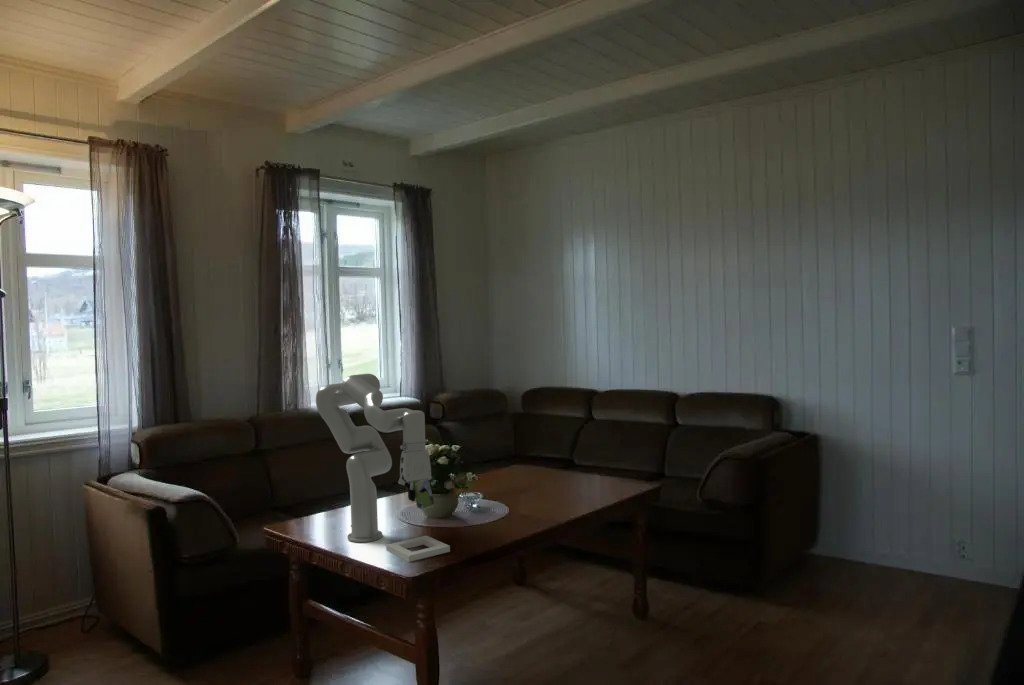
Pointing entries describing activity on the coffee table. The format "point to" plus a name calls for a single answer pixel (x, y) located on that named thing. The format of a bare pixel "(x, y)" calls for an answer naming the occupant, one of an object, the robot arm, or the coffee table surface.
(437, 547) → the can holder
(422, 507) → the beverage can
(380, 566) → the coffee table surface
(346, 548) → the coffee table surface
